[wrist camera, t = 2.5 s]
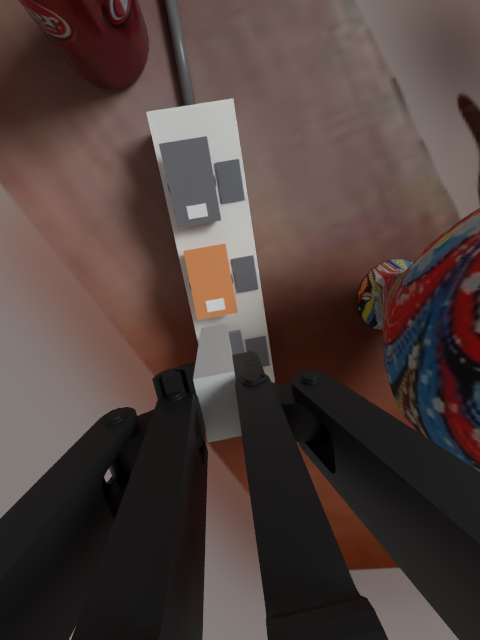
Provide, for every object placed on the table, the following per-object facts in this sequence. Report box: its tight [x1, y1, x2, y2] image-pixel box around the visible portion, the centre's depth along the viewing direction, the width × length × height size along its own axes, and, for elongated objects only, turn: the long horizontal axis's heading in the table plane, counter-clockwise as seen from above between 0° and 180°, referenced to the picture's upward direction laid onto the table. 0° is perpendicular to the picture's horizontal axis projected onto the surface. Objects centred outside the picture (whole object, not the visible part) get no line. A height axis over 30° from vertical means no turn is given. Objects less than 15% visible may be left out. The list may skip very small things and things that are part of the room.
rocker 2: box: [228, 330, 244, 355], centre depth 27 cm, size 6×4×1 cm, turn 9°
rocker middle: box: [184, 244, 238, 320], centre depth 25 cm, size 6×4×1 cm, turn 10°
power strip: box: [147, 0, 275, 383], centre depth 26 cm, size 40×7×5 cm, turn 9°
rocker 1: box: [159, 136, 221, 228], centre depth 23 cm, size 6×4×1 cm, turn 9°
